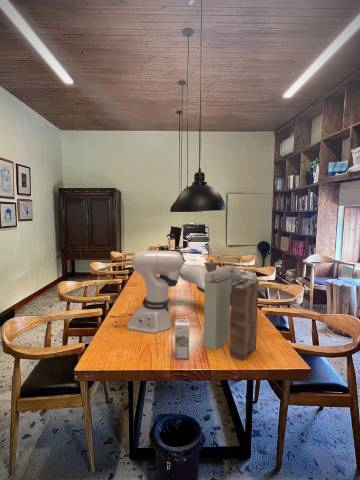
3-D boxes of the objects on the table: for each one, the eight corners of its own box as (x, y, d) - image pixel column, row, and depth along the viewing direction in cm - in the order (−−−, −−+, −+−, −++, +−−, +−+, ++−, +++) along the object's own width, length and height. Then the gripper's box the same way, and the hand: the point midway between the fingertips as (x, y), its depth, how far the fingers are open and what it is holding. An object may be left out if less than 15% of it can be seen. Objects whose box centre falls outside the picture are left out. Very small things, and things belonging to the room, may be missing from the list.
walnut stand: (243, 345, 123) (245, 278, 120) (255, 349, 119) (258, 281, 116) (229, 355, 113) (231, 284, 110) (243, 360, 110) (245, 287, 106)
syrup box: (188, 351, 116) (188, 318, 115) (189, 359, 110) (189, 324, 109) (174, 352, 116) (174, 318, 115) (174, 359, 110) (175, 324, 109)
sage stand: (217, 336, 131) (219, 274, 128) (229, 340, 127) (230, 276, 124) (203, 345, 122) (204, 279, 119) (215, 350, 118) (216, 281, 115)
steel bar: (231, 271, 133) (231, 265, 133) (236, 272, 131) (236, 266, 131) (205, 280, 116) (205, 273, 116) (211, 281, 114) (211, 274, 114)
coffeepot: (202, 280, 235) (202, 260, 233) (204, 278, 244) (205, 258, 242) (219, 282, 230) (220, 261, 228) (222, 280, 239) (222, 259, 237)
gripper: (259, 289, 131) (248, 279, 121) (221, 281, 144) (209, 272, 134) (262, 276, 133) (252, 266, 123) (225, 270, 146) (213, 260, 136)
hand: (229, 269), depth 128 cm, fingers closed on steel bar, 3 cm apart
